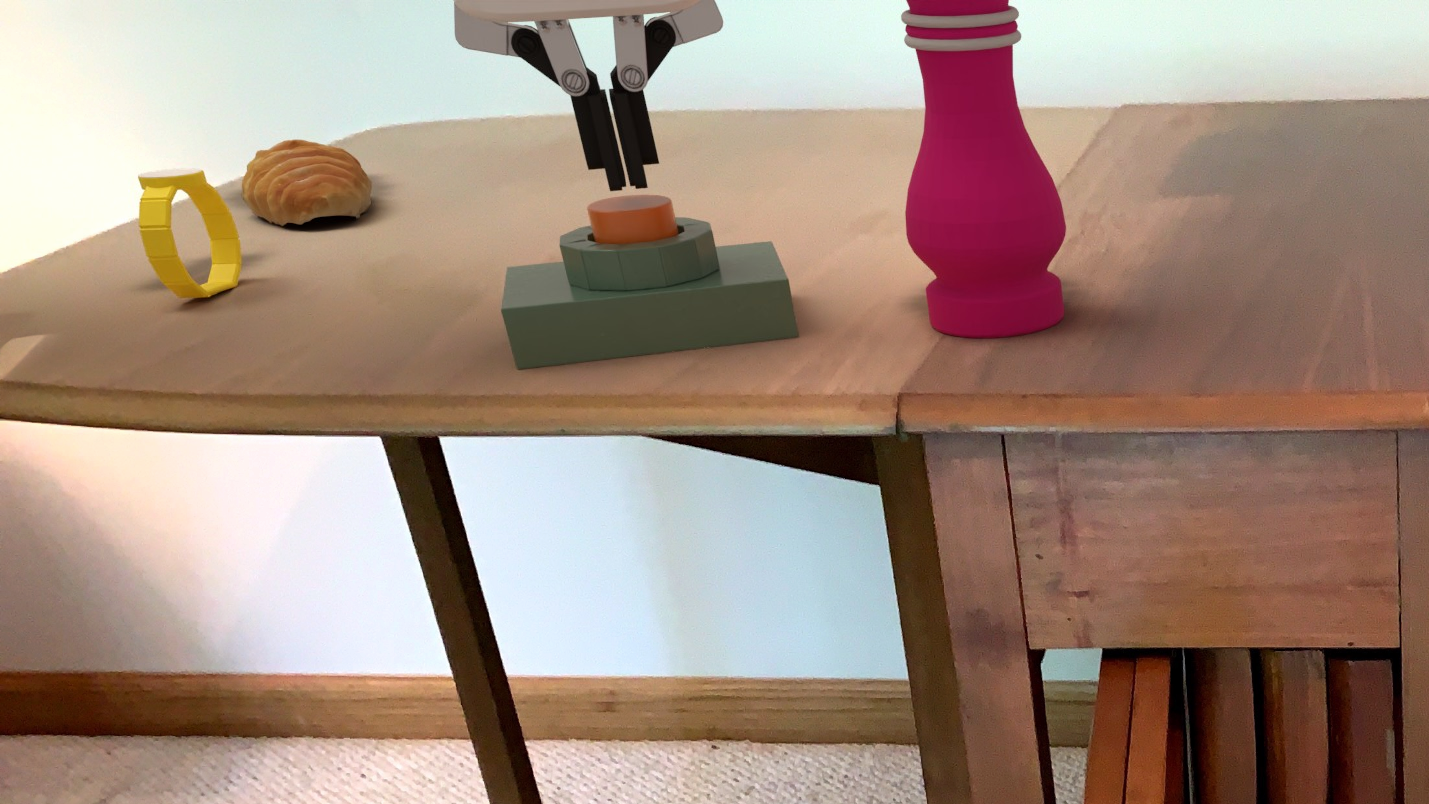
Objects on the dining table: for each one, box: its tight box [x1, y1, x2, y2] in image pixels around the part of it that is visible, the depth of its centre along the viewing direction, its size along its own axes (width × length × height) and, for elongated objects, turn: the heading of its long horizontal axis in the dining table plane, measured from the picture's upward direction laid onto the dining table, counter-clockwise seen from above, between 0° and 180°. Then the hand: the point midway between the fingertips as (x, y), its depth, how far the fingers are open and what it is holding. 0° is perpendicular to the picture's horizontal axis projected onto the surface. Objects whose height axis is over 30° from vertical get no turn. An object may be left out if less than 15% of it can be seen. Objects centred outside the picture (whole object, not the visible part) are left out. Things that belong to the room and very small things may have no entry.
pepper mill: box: [900, 0, 1067, 339], centre depth 75 cm, size 7×7×20 cm
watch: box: [137, 167, 243, 299], centre depth 85 cm, size 6×3×6 cm, turn 4°
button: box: [586, 194, 679, 244], centre depth 77 cm, size 4×4×2 cm
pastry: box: [241, 139, 373, 227], centre depth 101 cm, size 9×7×4 cm
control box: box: [500, 216, 800, 371], centre depth 79 cm, size 12×8×4 cm, turn 112°
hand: (628, 183), depth 76 cm, fingers closed
